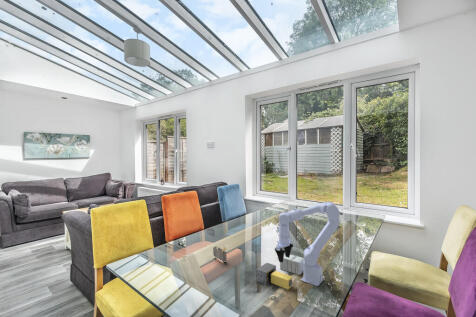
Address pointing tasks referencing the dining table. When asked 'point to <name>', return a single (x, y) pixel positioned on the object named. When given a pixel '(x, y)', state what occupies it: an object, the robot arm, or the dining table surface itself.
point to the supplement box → (292, 264)
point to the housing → (265, 273)
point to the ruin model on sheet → (219, 253)
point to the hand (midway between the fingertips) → (284, 259)
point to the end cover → (281, 279)
